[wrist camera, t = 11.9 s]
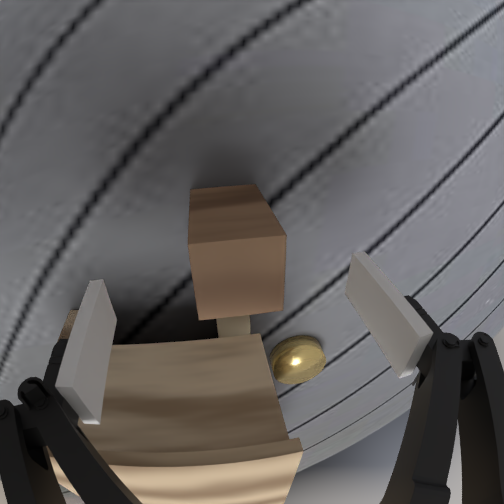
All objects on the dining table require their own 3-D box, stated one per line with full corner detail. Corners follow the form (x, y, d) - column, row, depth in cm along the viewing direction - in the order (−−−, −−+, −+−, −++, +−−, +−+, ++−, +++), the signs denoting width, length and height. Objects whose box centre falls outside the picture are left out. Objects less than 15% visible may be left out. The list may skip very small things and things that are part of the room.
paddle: (190, 189, 23) (187, 244, 15) (255, 184, 23) (286, 235, 16) (219, 398, 36) (227, 459, 28) (257, 393, 37) (271, 453, 29)
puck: (259, 351, 33) (264, 367, 31) (308, 326, 32) (314, 341, 30) (282, 375, 36) (287, 390, 34) (326, 353, 35) (332, 367, 33)
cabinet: (64, 306, 26) (14, 448, 12) (262, 290, 29) (315, 448, 15) (132, 430, 38) (130, 524, 24) (260, 422, 41) (283, 516, 27)
